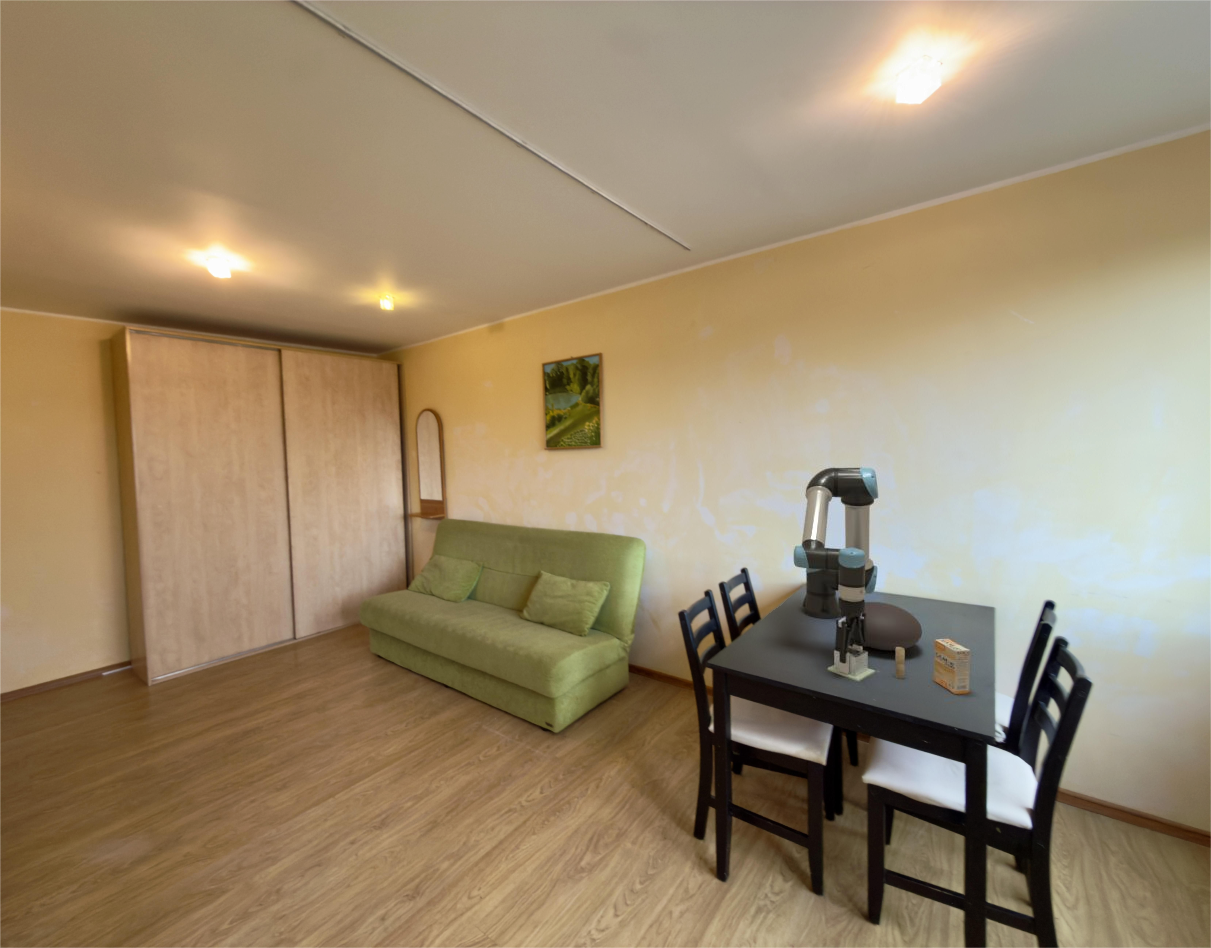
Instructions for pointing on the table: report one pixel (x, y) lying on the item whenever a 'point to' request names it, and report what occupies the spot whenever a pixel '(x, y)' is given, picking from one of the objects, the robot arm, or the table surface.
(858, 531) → the robot arm
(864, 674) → the mat
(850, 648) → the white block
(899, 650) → the dowel
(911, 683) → the table surface
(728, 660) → the table surface
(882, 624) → the flattened ellipsoid
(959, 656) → the supplement box
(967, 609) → the table surface
